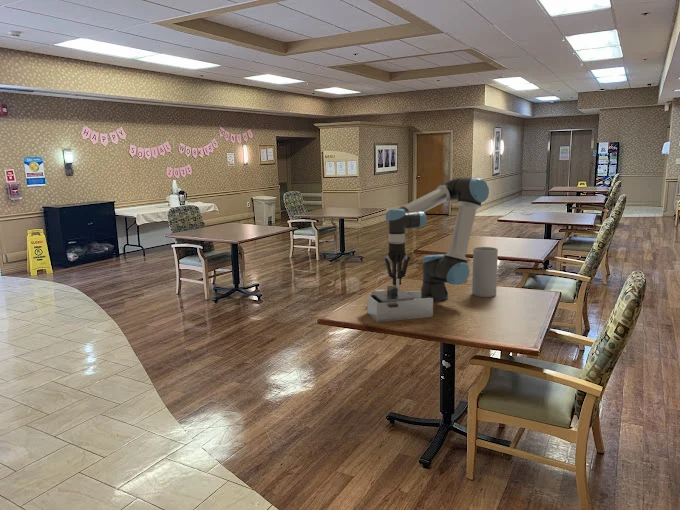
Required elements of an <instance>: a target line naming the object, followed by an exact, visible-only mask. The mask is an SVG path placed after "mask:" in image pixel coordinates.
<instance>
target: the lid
mask: <svg viewBox="0 0 680 510" xmlns="http://www.w3.org/2000/svg"><path fill="white" fill-rule="evenodd" d="M386 288H387V289H386V290H384V291H377V292H373V291H371V295H373V296H375V297H376V298H377V299H378V300H380V301H381V302H392V301H403V300H414V297H413V296H411V295H410V294H408V293H407V292H408V291H405V290H404V289H402V288H401V289H400V288H399V292H398V289H397V288H396V287H394V285H387V286H386Z"/></svg>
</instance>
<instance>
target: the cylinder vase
mask: <svg viewBox="0 0 680 510" xmlns="http://www.w3.org/2000/svg"><path fill="white" fill-rule="evenodd" d="M498 249H499V248H496V247H493V246H492V247H490V246H478V247H474V248H472V250H473V252H472V281H471V285H472V287H471V294H472V295H473V296H475V297H480V298H493V297H495V296H496V295H497V284H498V281H497V280H498Z"/></svg>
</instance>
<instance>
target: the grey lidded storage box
mask: <svg viewBox="0 0 680 510" xmlns="http://www.w3.org/2000/svg"><path fill="white" fill-rule="evenodd" d="M406 292H407V293H408V294H410V295H411V296H413V297H414V300H403V301H392V302H381V301H380V300H378V299H377V298H376V297H375V296H373V295H372V294H367V296H366V301H367V303H366V307H367V309H366V310H367V314H368V315H369V317H371V319H373V320H374V321H375V322H376V323H384V322H385V323H386V322H395V321H403V320H404V321H405V320H414V319H423V318H424V319H425V318H432V317H434V301H433V298H422V299H421V289H420V290H410V291H406Z"/></svg>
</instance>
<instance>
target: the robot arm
mask: <svg viewBox="0 0 680 510" xmlns="http://www.w3.org/2000/svg"><path fill="white" fill-rule="evenodd" d="M489 194H490V188H489V185H488V183H487V182H486V181H485V180H484V179H482V178H481V177H480V178H479V177H478V178H477V177H457V178H453V179H450V180H448V181H446V182H444V183H442V184H440V185H438V186H437V188H436V189H434V190H433V191H431V192H429V193H426V194H425V195H423V196H421V197H419V198H417V199H414V200H412V201H411V202H409V203H406V204H404V205H403V206H400V207H399V208H390V209H389V210H387V212H386V214H385V220H386V222H387V223H388V253H387V256H386V257H385V256H384V257H383V258H382V260H383V261H384V262H385V267H386V271H387V276H388V277H389V278H391V279H392V286H394V287H396V288H397V289H398V292H399V290H400V286H401V285H402V278H404V277H406V273H407V270H408V265H409V261H410V260H411V256H409V255H407V254H406V243H405V241H406V229H417V228H418V229H419V228H422V227H424V226H426V224H427V220H428V219H427V215H426V212H427V211H429V210H431V209H433V208H435V207H437V206H438V205H441V204H447V203H449V202H451V201H457V204H458V206H459V207H458V212H457V215H456V219H455V224H454V227H453V231H452V235H451V240H450V244H449V248H448V251H447V252H446V253H445V254H441V253H440V254H427V255H425V256H423V258H422V263H421V264H422V284H421V286H420V290H421V299H422V298H433V302H443V301H446V300H448V299H449V293H448V289H447V286H446V283H448V284H449V285H456V286H458V285H462V284H464V282H466V281H467V280H468V278H469V276H470V272H471V271H470V266H469V265H468V258H467V257H466V254H467V250H468V246H469V241H470V238H471V234H472V230H473V226H474V222H475V217H476V214H477V210H478V209H480V208H481V205H482V203H484V202H486V200H488V197H489V196H490V195H489ZM390 261H391V263H390ZM391 264H392V265H391Z"/></svg>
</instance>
